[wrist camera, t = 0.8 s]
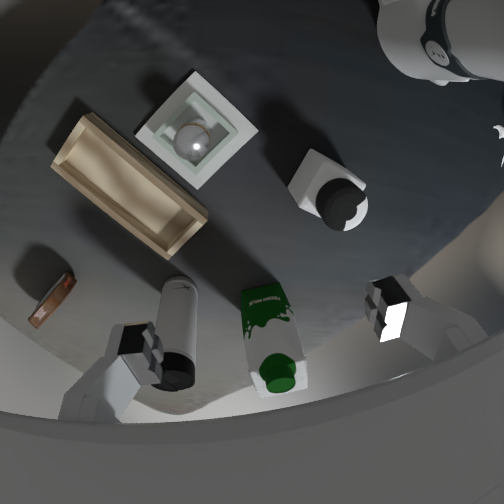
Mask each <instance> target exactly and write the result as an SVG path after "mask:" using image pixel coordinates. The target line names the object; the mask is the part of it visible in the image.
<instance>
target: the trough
mask: <svg viewBox="0 0 504 504" xmlns="http://www.w3.org/2000/svg"><path fill="white" fill-rule="evenodd" d="M50 167H51V168H53V169H54V170H55V171H56V172H57V173H58V174H60V175H61V176H62V177H63V178H64V179H66V180H67V181H68V182H69V183H70V184H71V185H73V186H74V187H75V188H76V189H77V190H79V191H80V192H81V193H82V194H83V195H85V196H86V197H87V198H88V199H90V200H91V201H92V202H93V203H94V204H96V205H97V206H98V207H99V208H101V209H102V210H103V211H104V212H106V213H107V214H108V215H109V216H111V217H112V218H113V219H114V220H116V221H117V222H118V223H120V224H121V225H122V226H123V227H125V228H126V229H127V230H128V231H130V232H131V233H132V234H134V235H135V236H136V237H138V238H139V239H140V240H141V241H143V242H144V243H145V244H147V245H148V246H149V247H151V248H152V249H153V250H155V251H156V252H157V253H159V254H160V255H161V256H163V257H164V258H165V259H167V260H169V259H170V258H171V257H172V256H173V255H174V254H175V253H176V252H177V251H178V250H179V249H180V248H181V247H182V246H183V245H184V244H185V243H186V242H187V241H188V240H189V239H190V238H191V237H192V236H193V235H194V234H195V233H196V232H197V231H198V230H199V229H200V228H201V227H202V226H203V225H204V224H205V223H206V222H207V221H208V210H207V209H206V208H205V207H204V206H203V205H201V204H200V203H199V202H198V201H197V200H196V199H194V198H193V197H192V196H191V195H190V194H189V193H187V192H186V191H185V190H184V189H183V188H181V187H180V186H179V185H178V184H177V183H176V182H174V181H173V180H172V179H171V178H170V177H168V176H167V175H166V174H165V173H164V172H163V171H161V170H160V169H159V168H158V167H157V166H156V165H154V164H153V163H152V162H151V161H150V160H148V159H147V158H146V157H145V156H144V155H143V154H141V153H140V152H139V151H138V150H137V149H135V148H134V147H133V146H132V145H131V144H130V143H128V142H127V141H126V140H125V139H124V138H122V137H121V136H120V135H119V134H118V133H117V132H115V131H114V130H113V129H112V128H111V127H109V126H108V125H107V124H106V123H105V122H104V121H102V120H101V119H100V118H99V117H98V116H96V115H95V114H94V113H93V112H92V113H89V114H86V115H83V116H82V118H81V119H80V120H79V122H78V123H77V125H76V126H75V128H74V129H73V131H72V132H71V134H70V135H69V137H68V138H67V140H66V142H65V143H64V145H63V146H62V148H61V150H60V151H59V153H58V155H57V156H56V158H55V160H54V161H53V163H52V165H51V166H50Z"/></svg>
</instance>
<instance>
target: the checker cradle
mask: <svg viewBox="0 0 504 504" xmlns="http://www.w3.org/2000/svg"><path fill="white" fill-rule="evenodd" d="M195 117H197V118H202V119H204V120H205V121H206V122H207V123H208V124H209V126H210V130H211V132H210V144H209V148H208V150H207V152H206V153H205V154H204V155H203V156H202V157H201V158H199V159H196V160H185V159H182V158H181V157H179V156H178V155H177V154H176V152H175V150H174V148H173V139H174V136H175V134H176V132H177V131H178V130H179V128H180V127H181V126H182V125H183V124H184V123H185V122H186V121H187V120H188V119H191V118H195ZM257 132H258V130H257V129H256V128H255V127H254V126H253V125H252V124H251V123H250V122H249V121H248V120H247V119H246V118H245V117H244V116H243V115H242V114H241V113H240V112H239V111H238V110H237V109H236V108H235V107H234V106H233V105H232V104H231V103H230V102H229V101H228V100H227V99H226V98H225V97H223V96H222V95H221V94H220V93H219V92H218V91H217V90H216V89H215V88H214V87H213V86H212V85H210V84H209V83H208V82H207V81H206V80H205V79H204V78H203V77H202V76H200V75H199V74H198V73H197V72H196V71H195V72H194V73H193V74H192V75H191V76H190V77H189V78H188V79H187V80H186V81H185V82H184V83H183V84H182V85H181V86H180V87H179V88H178V89H177V90H176V91H175V92H174V93H173V94H172V95H171V96H170V97H169V98H168V99H167V100H166V101H165V102H164V104H163V105H162V106H161V107H160V108H159V109H158V110H157V111H156V112H155V113H154V115H153V116H152V117H151V118H150V119H149V120H148V121H147V122H146V124H145V125H144V126H143V127H142V128H141V129H140V131H139V132H138V133H137V134H136V135H135V137H136V138H138V139H139V140H140V141H141V142H142V143H143V144H145V145H146V146H147V147H148V148H149V149H151V150H152V151H153V152H154V153H155V154H156V155H158V156H159V157H160V158H161V159H162V160H163V161H165V162H166V163H167V164H168V165H169V166H170V167H172V168H173V169H174V170H175V171H176V172H177V173H179V174H180V175H181V176H182V177H183V178H184V179H186V180H187V181H188V182H189V183H190V184H191V185H192V186H194V187H195V188H196V189H197V190H198V189H199V188H200V187H201V186H202V185H203V184H204V183H205V182H206V181H207V180H208V179H209V178H210V177H211V176H212V175H213V174H214V173H215V172H216V171H217V170H218V169H219V168H220V167H221V166H222V165H223V164H224V163H225V162H226V161H227V160H228V159H229V158H230V157H231V156H232V155H233V154H234V153H236V152H237V151H238V150H239V149H240V148H241V147H242V146H243V145H244V144H245V143H246V142H247V141H248V140H249V139H250V138H252V137H253V136H254V135H255V134H256V133H257Z"/></svg>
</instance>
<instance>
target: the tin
mask: <svg viewBox="0 0 504 504" xmlns="http://www.w3.org/2000/svg"><path fill="white" fill-rule="evenodd" d="M76 282H77V280H76V279H75V278H74V277H73V276H72V275H71V274H69V273H68V272H66V273H64V274H63V275H62V276H61V278H60V279H59V280H58V281H57V282H56V283H55V284H54V285H53V286H52V287H51V288H50V290H49V291H48V292H47V293H46V294H45V296H44V297H43V298H42V299H41V301H40V302H39V303H38V305H37V306H36V309H35V311H34V312H33V314H32V315H31V316H30V317H29V318H28V321H29V322H30V323H31V324H32V325H33V326H34V327H35V328H36V329H38V328H39V327H40V326H41V325H42V324H43V323H44V322H45V321H46V320H47V319H48V318H49V317H50V316H51V315H52V314H53V313H54V312H55V311H56V309H57V308H58V307H59V306H60V305H61V303H62V302H63V301H64V300H65V298H66V297H67V296H68V295H69V293H70V292H71V290H72V289H73V287H74V286H75V284H76Z"/></svg>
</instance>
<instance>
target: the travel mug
mask: <svg viewBox="0 0 504 504" xmlns="http://www.w3.org/2000/svg"><path fill="white" fill-rule="evenodd" d="M197 299H198V289H197V286H196V284H195V283H194V282H193V281H192V280H191V279H189V278H186V277H183V276H175V277H172V278H169V279H168V280H167V281H165V283H164V285H163V288H162V293H161V299H160V304H159V310H158V315H157V321H156V327H155V333H154V334H156V335H158V336H159V337H160V339H161V342H162V345H163V352H164V357H163V361H162V362H161V363H160V366H161V368H162V378H161V383H158V384H151V385H152V386H153V387H155V388H157V389H159V390H163V391H169V392H175V391H178V390H183V389H186V388H190V387H192V386H193V385H194V383H195V360H196V324H197Z"/></svg>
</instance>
